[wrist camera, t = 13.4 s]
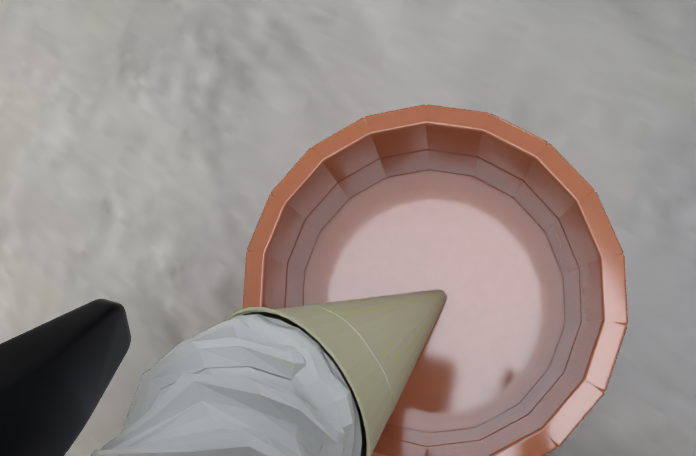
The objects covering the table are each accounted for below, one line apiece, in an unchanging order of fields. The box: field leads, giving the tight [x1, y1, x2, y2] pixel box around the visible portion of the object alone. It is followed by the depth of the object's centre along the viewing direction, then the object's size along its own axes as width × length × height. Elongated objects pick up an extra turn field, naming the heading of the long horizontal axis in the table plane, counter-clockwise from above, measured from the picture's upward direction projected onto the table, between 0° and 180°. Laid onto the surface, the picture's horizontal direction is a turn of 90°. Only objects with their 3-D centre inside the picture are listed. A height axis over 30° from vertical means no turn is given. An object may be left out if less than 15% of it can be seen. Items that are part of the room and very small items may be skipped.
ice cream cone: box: [91, 289, 447, 456], centre depth 14 cm, size 5×5×15 cm
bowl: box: [243, 105, 628, 456], centre depth 18 cm, size 10×10×5 cm
